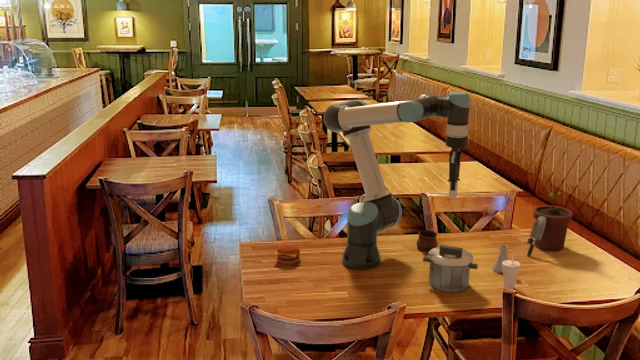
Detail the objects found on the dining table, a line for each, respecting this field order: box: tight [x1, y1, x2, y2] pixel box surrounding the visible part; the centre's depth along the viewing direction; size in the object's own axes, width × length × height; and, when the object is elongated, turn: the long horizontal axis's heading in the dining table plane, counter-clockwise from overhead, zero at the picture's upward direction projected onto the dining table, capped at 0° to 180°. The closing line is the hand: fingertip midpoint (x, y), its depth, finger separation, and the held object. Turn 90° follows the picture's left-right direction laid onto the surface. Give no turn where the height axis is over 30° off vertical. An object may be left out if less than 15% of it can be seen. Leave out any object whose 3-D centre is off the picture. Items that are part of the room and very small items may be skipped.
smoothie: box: [502, 251, 521, 290], centre depth 225 cm, size 6×6×14 cm
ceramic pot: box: [416, 230, 441, 252], centre depth 262 cm, size 18×18×7 cm
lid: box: [427, 244, 474, 267], centre depth 227 cm, size 16×16×4 cm
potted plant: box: [526, 191, 574, 257], centre depth 260 cm, size 18×22×25 cm
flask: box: [492, 244, 509, 274], centre depth 241 cm, size 7×7×10 cm
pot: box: [422, 255, 479, 293], centre depth 229 cm, size 20×14×10 cm
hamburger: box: [274, 242, 302, 265], centre depth 250 cm, size 9×10×7 cm
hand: (452, 197), depth 230 cm, fingers closed
